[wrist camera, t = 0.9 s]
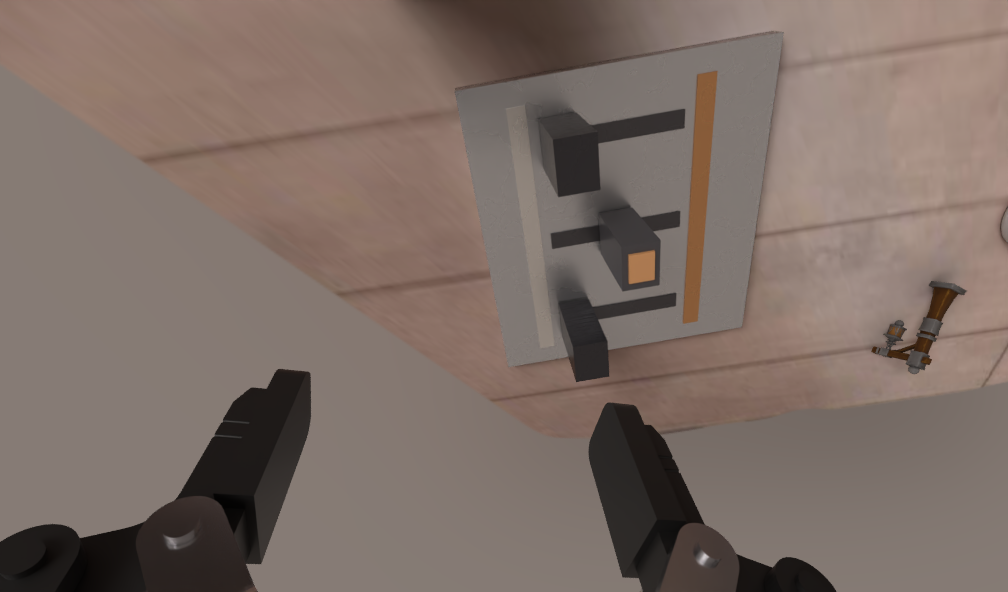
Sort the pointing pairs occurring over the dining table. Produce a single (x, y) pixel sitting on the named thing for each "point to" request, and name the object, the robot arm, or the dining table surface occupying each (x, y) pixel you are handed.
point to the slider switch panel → (621, 194)
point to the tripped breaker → (630, 249)
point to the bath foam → (1005, 226)
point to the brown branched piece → (922, 329)
